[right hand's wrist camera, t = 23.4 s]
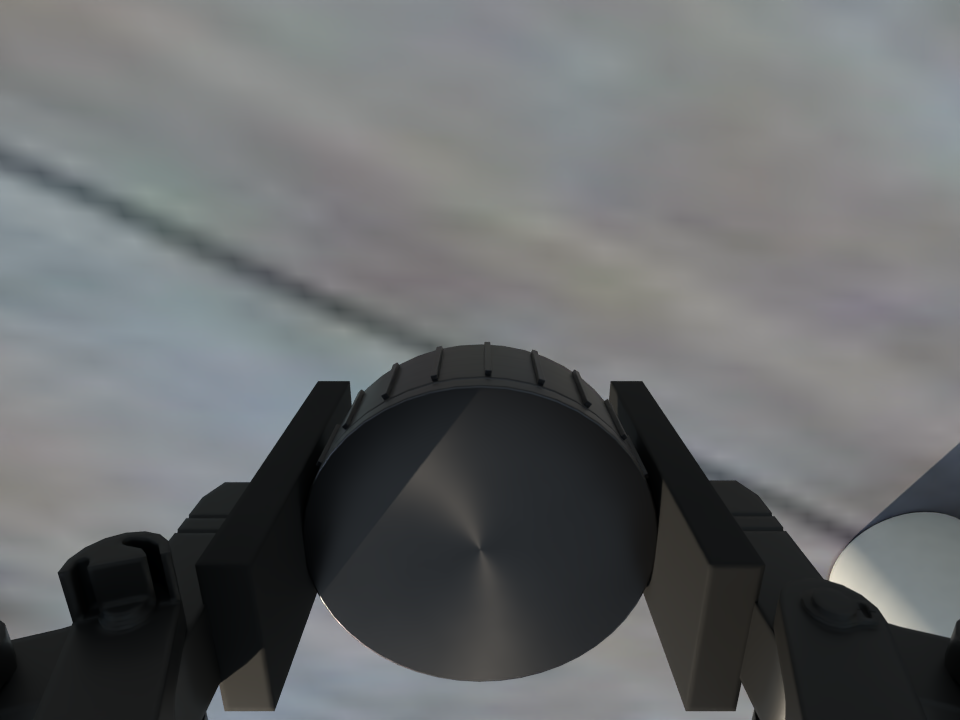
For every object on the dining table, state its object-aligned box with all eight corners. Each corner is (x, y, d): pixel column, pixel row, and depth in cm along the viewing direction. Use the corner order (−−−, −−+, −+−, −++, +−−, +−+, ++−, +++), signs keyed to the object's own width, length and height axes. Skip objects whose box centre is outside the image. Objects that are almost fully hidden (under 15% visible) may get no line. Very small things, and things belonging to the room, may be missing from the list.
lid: (670, 554, 13) (704, 627, 11) (403, 639, 14) (391, 720, 12) (576, 290, 11) (597, 323, 9) (270, 409, 12) (228, 463, 10)
